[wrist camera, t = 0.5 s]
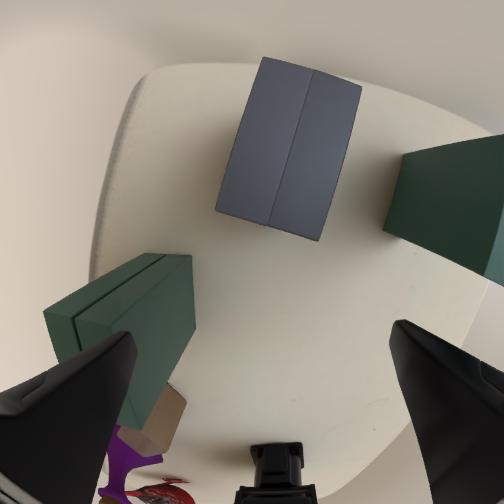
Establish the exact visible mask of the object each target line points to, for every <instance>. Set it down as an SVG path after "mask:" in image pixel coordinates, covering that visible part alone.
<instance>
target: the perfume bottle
mask: <svg viewBox="0 0 504 504" xmlns="http://www.w3.org/2000/svg"><path fill="white" fill-rule="evenodd" d="M120 427H121V425H118V424H116V425H115V428H114V431H113V434H112V437H111V440H110V443H109V446H108V449H107V454H108V461H109V482H108V485H107V486H106V487H105V488H99V489H98V494H99V495H100V496H101V497H102V499H101V500H100V501H99V504H132V503H131V502H130V501H129V500H128V499H127V496H126V494H125V489H124V485H125V478H126V476H127V474H128V472H130V471H131V470H132V469H134V468H138V467H142V466H146V465H151V464H157V463H162V462H163V458H162V455H161V454H159V455H154V456H149V457H143V456H141V455H140V454H139V453H138V452H136V451H135V450H134V449H132V448H131V447H130V446H129V445H127V444H126V443H125V442H124V441H122V440H121V439H120V438H119V437H118V436H117V433H118V431H119V429H120Z"/></svg>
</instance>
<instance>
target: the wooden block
mask: <svg viewBox="0 0 504 504" xmlns="http://www.w3.org/2000/svg"><path fill="white" fill-rule="evenodd" d="M186 404H187V403H186V400H185V399H184V398H183V397H181V396H180V395H179V394H178V393H177V392H176V391H175V390H174V389H173V388H172V387H171V386H170V385H169V384H168V383H166V385H165V387H164V389H163V391H162V392H161V394H160V396H159V398H158V400H157V402H156V404H155V406H154V407H153V409H152V411H151V413H150V415H149V417H148V419H147V421H146V423H145V424H144V426H143V428H142V430H141V431H138V430H135V429H131V428H128V427H125V426H121V427H120V429H119V431H118V433H117V436H118V437H119V438H120V439H121V440H122V441H124V442H125V443H126V444H127V445H129V446H130V447H131V448H132V449H134V450H135V451H136V452H138V453H139V454H140V455H141V456H143V457H149V456H154V455H159V454H163V453H166V452H167V451H168V449H169V446H170V444H171V441H172V439H173V436H174V434H175V431H176V429H177V426H178V424H179V421H180V419H181V416H182V414H183V411H184V409H185V406H186Z"/></svg>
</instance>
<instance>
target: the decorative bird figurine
mask: <svg viewBox="0 0 504 504" xmlns="http://www.w3.org/2000/svg"><path fill="white" fill-rule="evenodd" d="M162 479H163V478H162ZM163 480H164V481H168V482H166V483H162V484H157V485H151V486H144V487H142V488H140V489H137V490H134V491H125V494H126V495H127V496H134V497H137V498H139V499H140V500H141V501H143V502H144V503H146V504H195V502H194V500H193V498H192V497H191V496H190V495H189V494H188V493H187V492H186V491H184V490H183V489H181V488H179V487H176V486H173V485H169V484H172V483H182V482H184V483H190V482H185V481H182V480H179V479H168V478H167V479H166V480H165V479H163Z"/></svg>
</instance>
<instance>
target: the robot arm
mask: <svg viewBox="0 0 504 504" xmlns="http://www.w3.org/2000/svg"><path fill="white" fill-rule="evenodd" d="M389 346H390V350H391V354H392V358H393V362H394V366H395V370H396V374H397V378H398V382H399V385H400V388H401V391H402V393H403V396H404V399H405V402H406V405H407V408H408V411H409V414H410V417H411V420H412V423H413V426H414V429H415V433H416V436H417V439H418V443H419V446H420V450H421V453H422V457H423V460H424V465H425V468H426V472H427V476H428V481H429V484H430V490H431V494H432V500H433V504H504V372H502V371H499V370H498V369H496V368H494V367H492V366H490V365H488V364H487V363H485V362H483V361H480V360H479V359H478V358H476V357H474V356H472V355H470V354H469V353H467V352H465V351H463V350H461V349H459V348H458V347H456V346H454V345H452V344H450V343H449V342H447V341H445V340H443V339H441V338H439V337H438V336H436V335H434V334H432V333H430V332H428V331H426V330H425V329H423V328H421V327H419V326H417V325H415V324H414V323H412V322H410V321H408V320H406V319H403V320H396V321H395V322H394V323H393V327H392V331H391V336H390V340H389ZM137 357H138V348H137V346H136V343H135V341H134V338H133V335H132V333H131V332H130V331H124V330H120V331H118V332H116V333H114V334H112V335H110V336H109V337H107V338H105V339H103V340H101V341H100V342H98V343H96V344H94V345H92V346H90V347H89V348H87V349H85V350H83V351H81V352H80V353H78V354H76V355H74V356H72V357H70V358H69V359H67V360H65V361H63V362H61V363H59V364H58V365H56V366H54V367H52V368H50V369H48V371H45V372H43V373H41V374H39V375H38V376H35V377H33V378H32V379H30V380H27V381H25V382H23V383H21V384H19V385H17V386H14V387H12V388H10V389H8V390H5V391H3V392H1V393H0V504H92V501H93V497H94V493H95V489H96V486H97V481H98V478H99V475H100V472H101V468H102V465H103V462H104V459H105V455H106V452H107V449H108V446H109V443H110V440H111V437H112V434H113V431H114V428H115V425H116V423H117V420H118V417H119V414H120V411H121V409H122V406H123V403H124V400H125V398H126V395H127V392H128V389H129V386H130V383H131V379H132V375H133V371H134V367H135V364H136V360H137ZM250 451H251V455H252V458H253V461H254V464H255V467H256V468H255V479H254V487H245V486H240V489H239V491H236V496H235V502H234V504H318V503H317V497H316V490H315V484H310V485H304V486H302V480H301V469H302V468H304V458H303V444H302V443H291V444H280V445H264V446H251V447H250Z"/></svg>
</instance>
